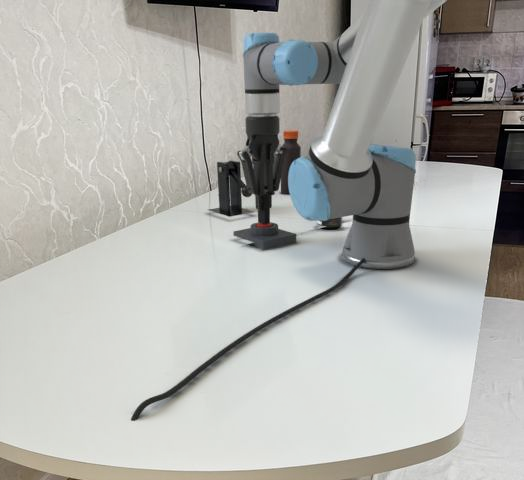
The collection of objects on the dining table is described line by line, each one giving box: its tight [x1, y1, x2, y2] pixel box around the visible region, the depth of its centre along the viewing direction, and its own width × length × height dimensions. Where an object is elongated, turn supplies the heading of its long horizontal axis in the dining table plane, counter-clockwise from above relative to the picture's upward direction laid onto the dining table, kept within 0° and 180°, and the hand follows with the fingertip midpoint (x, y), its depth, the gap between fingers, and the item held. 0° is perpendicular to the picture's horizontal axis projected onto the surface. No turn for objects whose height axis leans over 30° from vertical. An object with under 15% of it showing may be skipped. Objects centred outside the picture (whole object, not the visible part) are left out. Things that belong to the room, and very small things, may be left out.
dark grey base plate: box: [233, 221, 297, 251], centre depth 127 cm, size 12×10×4 cm
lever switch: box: [208, 159, 255, 218], centre depth 151 cm, size 12×9×15 cm
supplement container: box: [316, 217, 343, 231], centre depth 136 cm, size 7×7×10 cm
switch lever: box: [224, 161, 253, 198], centre depth 146 cm, size 13×3×3 cm
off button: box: [257, 222, 272, 227], centre depth 126 cm, size 4×4×2 cm
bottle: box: [280, 130, 302, 195], centre depth 179 cm, size 7×7×20 cm
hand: (263, 222), depth 126 cm, fingers closed
